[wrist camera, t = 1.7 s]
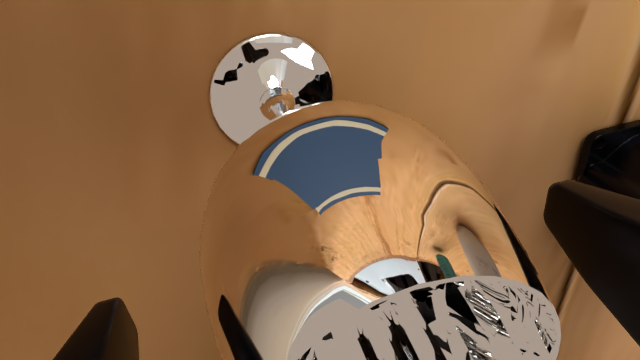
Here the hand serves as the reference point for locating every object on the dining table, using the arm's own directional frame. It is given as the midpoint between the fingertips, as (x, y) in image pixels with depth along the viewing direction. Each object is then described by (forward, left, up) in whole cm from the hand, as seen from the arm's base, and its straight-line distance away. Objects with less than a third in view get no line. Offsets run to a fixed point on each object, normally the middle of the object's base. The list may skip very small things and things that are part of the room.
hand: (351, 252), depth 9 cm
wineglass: (0, 0, -9) cm, 9 cm away
